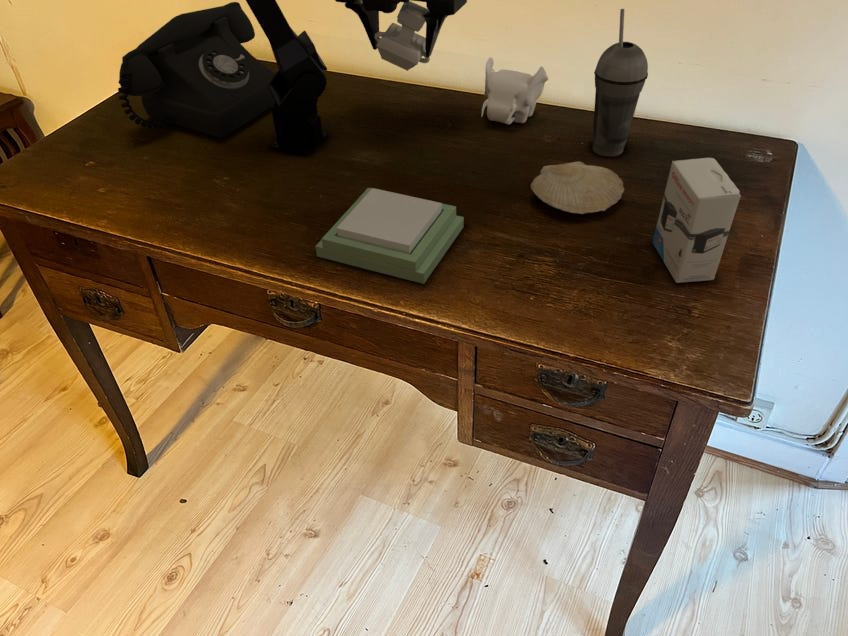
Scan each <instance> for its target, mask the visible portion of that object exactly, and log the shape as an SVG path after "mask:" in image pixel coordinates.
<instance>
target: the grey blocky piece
mask: <svg viewBox="0 0 848 636" xmlns="http://www.w3.org/2000/svg"><path fill="white" fill-rule="evenodd" d="M428 11H429V10H428V8H427V7H425V6H422V5H420V4H419V3H418V4H417V3H415V2H414V1H411V0H409V2H408V3H404V2H402V5H401V7H400V10H399V12H398V14H397V16H396V22H397V23H395V22H392V23H391V24H389V26H388V27H387V29H386V30H385V31H381V30H379V32H377V33H375V36H374V38H375V40H376V41H377V42H378V43H377V45H376V46H377V48H378V49H377V51H378V53H379V55H380V59H381V60H383V61H386V62H387V63H389V64H392V65H394V66H396V67H398V68H401V69H403V70H405V71H407V72H408V71H410V70H411V69H413V68H414V67H416V66H417V65H418V64H419V63H421V64H428V63H429V62H430V60H431V57H426V51H425V42H426V36H423V35H421V34H419V32H420V31H421V29H423V27H424V26H425V24H426V21H425V19H424V16H423V15H424V14H425V13H427V12H428Z"/></svg>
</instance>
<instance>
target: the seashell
mask: <svg viewBox="0 0 848 636" xmlns="http://www.w3.org/2000/svg"><path fill="white" fill-rule="evenodd" d="M530 189H531V190H532V192H533V193H534V194H535V196H536V197H537V198H538V199H540V200H541V201H542V202H543V203H545V204H547V205H548V206H550V207H552V208H554V209H556V210H561V211H563V212H567V213H571V214H579V215H583V214H595V213H598V212H605V211H606V210H607V209H610V207H612V206H613V205H615V204H616V203H618V202H619V200H621V199H622V195H623V193H624V192H625V187H624V182H623V179H622V178H620V177H619V175H618V174H617V173H615V172H614V171H613V170H611V169H610V168H607V167H605V166H600V165H599V166H598V165H592V164H591V165H589V164H588V165H587V164H585V163H584V162H583V161H580V160H579V161H573V162H566V163H559V164H550V165H544V166H543V167H542V168H541V170H540V174H539V175H537V176H535V178H534V179H533V181H531V183H530Z"/></svg>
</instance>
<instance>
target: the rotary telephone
mask: <svg viewBox="0 0 848 636" xmlns="http://www.w3.org/2000/svg"><path fill="white" fill-rule="evenodd" d="M245 12H246V11H244V10H243V8H242V6H241V4H240V3H239V2H238V1H231V2H229V3H226V4H223V5H221V6H220V5H219V6H216V7H210V8H205V9H200V10H195V11H189V12H183V13H180V14H178V15H176V16H174V17H172V18H171V19H169V21H167V22H166V23H165V24H164V25H162V26H161V27H159V28H158V29H157V30H156V31H154V33H152V34H151V35H150V36H148V38H146V39H144V40H143V41H142V42H141V43H140V44H139V45H138V46H137V47H135V48H134V49H132V50H130V51H128V52H127V53H126V54H124V55H122V56H121V64H120V69H119V77H118V79H119V80H118V84H119V85H120V87H118V88H117V92H118V93H120V94H123V95H118V99H119V100H120V101H124V102H123V103H121V104H120V106H121V108H128V109H125V110H124V114H125V115H129V117H128V119H129V120H130V121H134V124H135V125H137V126H138V125H140V126H141V128H144V129H145V128H146V127H147V129H149V130H152V129H153V128H154V129H155V130H158V129H160V127H161V128H165V127H166V124H167V125H171V124H173V125H176V126H179V127H183V128H185V129H190V130H193V131H196V132H199V133H203V134H205V135H206V134H207V135H209V136H213V137H216V138H225V137H227V136H228V135H230V134H231V133H233V132H234V131H236V130H237V129H239V128H241V127H243V125H245V124H246V123H248V122H250V121H251V120H253V119H254V118H256V117H257V116H259V115H260V114H262V113H263V112H265V111H267V110H268V109H271V106H272V105H273V104H275V101H274V99H273V96H272V94H271V92H270V90H269V88H268V84H269V83H270V81H271V80H272V78H273V77H274V76H275V74H276V73H277V72H278V71H277V72H276V71H274V70H272V69H271V68H269V67H268V66H266V65H265V64H264V63H262V62H260V60H258V59H257V58H256V56H255V57H254V56H253V55H252V54H251V53H250V52H249V51H248V49H246V48H245V46H243V45H242V44H245V43H246V44H247V43H249V42H250V41H252V40H253V39H255V37H256V33H255V28H254V25H253V24H252V22H251V19H250V18H249V16H248V15H247V14H246V13H245ZM129 96H132V97H140V96H141V97H140V98H141V103H142V106H143V108H144V110H145V112H146V115H148V117H150V118H153V119H155V120H147V119H144V118H142V117H140V115H138V114H137V113H136V111H134V110H133V107H132V105H131V104H130V99H128V97H129ZM131 113H132V114H131ZM165 122H166V124H165Z"/></svg>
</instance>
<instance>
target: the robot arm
mask: <svg viewBox="0 0 848 636" xmlns="http://www.w3.org/2000/svg"><path fill="white" fill-rule="evenodd" d="M334 1H335V2H336V3H343V4H344V7H345V9H349V10H351V11H352V12H354V13H355V14H356V15H357V17H358V18H359V20H360V22H361V23H362V26H363V28H364V31H365V33H366V36H367V39H368V40H369V43H370V45H371V48H372V49H373V51H377V50H378V48H377V46H376V45H377V43H378V42H377V41H376V40H375V38H374V36H375V33H377V32H379V31H380V12H382V13H383V14H392V13H394V12H395V11H396V10H397V8H398V4H400V3H408V2H409V1H411V2H421V3H425V4H426V5H425V6H426V7H425V8H427V9H428V10H429V11H428V12H427V13H425V14H424V15H423V16H424V19H425V38H426V42H425V52H426V57H429V58H431V55H432V53H433V50H434V48H435V45H436V43H437V40H438V37H439V34H440V31H441V29H442V27H443V24H444V23H445V20H446V18H448V17H449V16H454V15H456V14H457V13H458V12H459V11H460V10H461V9H462V7H464V6H465V5H466V4H467V3H468V0H334ZM245 2H246V3H247V5H248V7H249V9H250V11H251V12H252V14H253V16H254V18H255V20H256V21H257V23H258V25H259V26H260V28H261V29H262V31H263V33H264V35H265V37H266V38H267V40H268V42H269V44H270V48H271V51H272V54H273V57H274V61H275V62H276V64H277V68H278V70H277V73H276V74H275V76H274V77H273V78H272V80H271V81H270V83H269V84H268V88H269V90H270V92H271V94H272V96H273V99H274V101H275V104H273V105H272V106H271V107H270V109H271V114H272V118H273V119H272V120H273V126H274V132H275V137H276V140H275V141H274V142H272V143H271V148H272V149H274V150H279V151H283V152H289V153H292V154H297V155H302V156H307V155H309V154H311V152H312V151H313V150H314V149H316V148H317V146H319V145H320V144H321V143H322V142H323V141H324V140H325V139H326V138H327V134H326V133H325V132H323V127H322V118H321V114H319V113H318V112H319V111H318V101H319V98H320V97H321V96H323V93H324V92H325V89H326V87H327V85H328V84H327V83H328V82H327V77H326V74H325V72H326V71H328V68H327V66H326V64H325V62H324V61H323V59H322V58H321V56H320V55H319V53H318V52H317V49H316V46H315V44H314V42H313V41H312V39H311V37H310V36H309V35H308V33H307V31H306V30H302V32H301V33H299V34H297V33H296V32H295V31H294V30H293V28H292V27H291V25H290V24H289V22H288V20H287V19H286V16H285V14H284V12H283V11H282V9H281V7H280V5H279V4H278V2H277V0H245Z"/></svg>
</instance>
